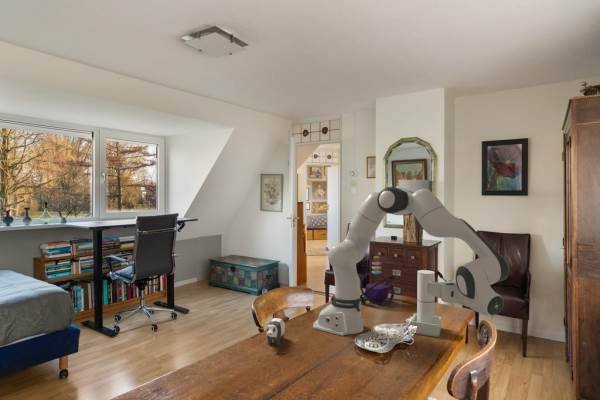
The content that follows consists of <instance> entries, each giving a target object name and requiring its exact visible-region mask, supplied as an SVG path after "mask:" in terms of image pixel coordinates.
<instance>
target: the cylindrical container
mask: <svg viewBox="0 0 600 400" xmlns="http://www.w3.org/2000/svg"><path fill="white" fill-rule="evenodd" d="M435 273H436V272H435V271H432V270H427V269H420V270H417V279H416V280H417V285H416V286H417V288H416V289H417V290H416V291H417V299H416V300H417V302H416V303H417V305H416V307H417V308H416V309H417V311H416V314H417V322H422V323H429V324H434V316H435V311H436V309H435V298H436V297H435V296H433V295H431V294H430V293H428V292H427V283H429V281H433V282H436V279H435V278H436V277H435V275H436V274H435Z"/></svg>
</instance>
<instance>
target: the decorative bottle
mask: <svg viewBox="0 0 600 400" xmlns="http://www.w3.org/2000/svg"><path fill="white" fill-rule="evenodd" d="M380 259H381V256H378V255H376V256H374V255H373V261H372V262H371V264H372V265H373V266H371V268H372V271H371V272H367V273H365V274H363V276H362V277H361V279H360V293H361V294H360V297H361V300H363V299H366V300H367V301H369V302H370V303H372V304H374V305H377V306H386V305H389V304H390V303H391V302H392V301H393V300H394V295H395V290H394V289H395V288H394V286H393V285H392V283H391V282H392V281H393V280H394V279H395V278H396V275H391V276H388V277H386V276H385V275H383V274H382V271H381V270H382V266H381V265H382V264H383V263H382V262H380ZM373 275H374V276H378V277H381V278H383V280H381V281H379V282H378V283H371V282H370V283H367V284H366V286H365V289H363V282H364V280H365V278H366V277H368V276H373ZM382 283H383V284H382ZM388 285H389V286H388ZM389 288H390V289H389ZM389 291H391V293H390V297H389ZM387 299H388V300H387Z"/></svg>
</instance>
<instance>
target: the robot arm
mask: <svg viewBox="0 0 600 400" xmlns="http://www.w3.org/2000/svg"><path fill="white" fill-rule="evenodd" d="M388 214H391V215H395V216H411V215H413V216H414V217H415V218H416V220H417V222H418V223H419V224H420V226H421V228H422V229H423V230H424V231H425V232H426V234H427V235H429V236H432V237H434V238H454V239H455V238H456V239H460V240H461V241H463V242H464V243H466V245H468V247H469V248H470V249H471V250H472V251H473V252H474V253H475V254H476V255H477V256H478V258H476V259H474V260H472V261H469V262H467V263H465V264H462V265H460V266H458V267H457V269H456V272H455V280H453V279H451V280H448V281H435V282H433V281H429V283H427V292H428V293H430V294H431V295H433V296H435V298H438V299H441V301H442V302H444V303H451V304H457V305H461V306H464V307H467V308H469V309H472V311H475V312H477V313H479V314H481V315H484V316H490V317H492V316H495V315H497V314H499V313H500V312H501V311H502V309H503V307H504V304H505V301H504V297H503V296H501V295H500V294H499V293H497V292H496V291H495V290H494V289H493V288H492V287H491V285H494V284H497V283H499V282H502V281H505V280H507V279H508V277H509V276H510V275H509V274H510V264H509V262H508V261H507V260H508V259H506V258H505V257H504V256H503V255H502V254H500V253H499V252H498V251H496V250H495V249H494V248H493V247H492V246H491V245H490V244H489V243H488V242H487V241H486V239H484V237H482V236H481V235H480V234H479V233H478V232H477V231H476V229H474V227H473V226H471V225H470V224H469V223H468V222H467V221H466V220H464V219H462V218H459V217H457V216H455V215H454V214H452V213H451V212H450V211H449V210H448V209H447V208H446V206H445V205H444V204H443V203H442V202H441V200H440V199H439V198H438V197H437V195H436V194H434V193H433V192H432V191H431V190H430V189H428V188H420V189H418V190H416V191H414V192H413V191H411V190H407V189H406V188H402V187H395V186H387V187H385V188H382V189H381V190H380V191H379V192H378V191H377V192H376V191H373V192H371V193H369V194H368V195H367V196H366V197H365V199H364V200H363V202H362V203H361V204H360V206H359V207H358V209H357V211H356V212H355V214H354V216H353V218H352V220H351V222H350V223H349V225H348V231H347V235H346V237H345V239H344V240H343V241H341V242H337V243H336V244H335V245H333V246H332V247H331V248H330V249H329V251H328V252H327V253H328V254H327V259H328V262H329V264H330V265H331V267H332V271H333V275H334V294H332V296H331V298H330V299H329V302H330V304H328V305H327V306H325V307H324V308H323V309H322V310H321V311H320V312H319V315H318V318H317V319H316V320H315V321H314V322H313V323H312V324H313V325H312V327H313V329H314V330H318V331H323V332H326V333H329V334H334V335H337V336H342V337H343V336H347V335H353V334H359V333H361V332H363V331H364V324H363V320H362V319H363V318H362V314H361V311H362V299H361V297H360V295H361V289H360V280H361V279H360V277H359V275H358V271H357V264H358V263H359V262H361V261H362V260H363V259H364V257H365V256H366V252H367V250H368V248H369V246H370V242H371V241H372V238H373V236H374V235H375V233H376V231H377V230H378V228H379V226H380V224H381V223H382V221H383V220H384V218H385V216H386V215H388Z"/></svg>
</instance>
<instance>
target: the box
mask: <svg viewBox="0 0 600 400" xmlns="http://www.w3.org/2000/svg"><path fill="white" fill-rule="evenodd" d="M409 324H410V325H414V326H417V330H416V335H421V336H428V337H435V338H440V335H441V329H442V316H437V315H434V324H429V323H422V322H417V312H416V313H415V312H414V313H413V314H412V317H411V319H410V323H409ZM410 325H409V326H410Z"/></svg>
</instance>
